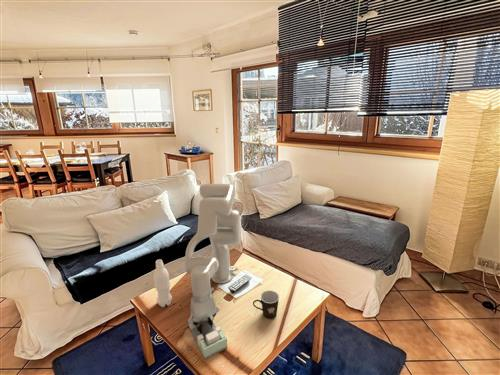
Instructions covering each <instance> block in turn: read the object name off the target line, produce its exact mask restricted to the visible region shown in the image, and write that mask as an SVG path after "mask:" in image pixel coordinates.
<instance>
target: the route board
mask: <svg viewBox="0 0 500 375" xmlns="http://www.w3.org/2000/svg"><path fill="white" fill-rule="evenodd" d="M206 319H207V320H208V318H206ZM193 320H194V319H193ZM187 326H188V328H189V329H191V330H190V332H191V333H192V336H193V338H194V340H195V342H196V344H197V346H198V348H199V350H200V352H201V355H202V357H203V358H204V360H207V359H208V358H210V357H212V356H215V355H216V354H217V353H221V352H222V351H224V350H226V349H228V337H227V336H226V334H225V333H224V331H223V330H222V328H221V327H220V325H218V326H216V325H215V323H214V322H213V325H212V329H213V331H215V330H217V332H218V333H219V336H220V340H219V341H217V342H215V343H213V344H211V345H209V346H207V344H206V337H205V336H204V334H203V332H202V333H201V334H200V332H199V331H198V330H197V326H196V325H193V324H189V323H188V325H187Z"/></svg>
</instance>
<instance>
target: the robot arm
mask: <svg viewBox="0 0 500 375" xmlns="http://www.w3.org/2000/svg"><path fill="white" fill-rule="evenodd" d="M198 190H199V194H200V196H201V198H202V199H201V200H200V201H199V205H198V206H199V208H198V219H197V220H198V222H197V232H196V233H195V235H194V236H193V237H192V238H191V239H190V241H189V242H188V244H187V247H186V250H185V258H184V269H185V272H186V273H187V274H190V281H191V291H192V296H191V299H190V317H188V320H187V323H188V324H193V325H196V326H197V330H198V331H199V332H200V334H201V333H202V327H201V324H200V322H201V320H203V319H205V318H208V322H209V324H210V326H211V327H212V325H213V323H214V319H215V317H216V315H217V314H218V313H220V308H219V307H218V306H216V303H215V298H214V294H213V291H215V289H214V287H211V280H212V281H213V282H214V283H216V284H227V283H229V282H230V281H232V280H233V279H234V272H237V271H238V270H239V268H238V266H236V267H235V266H234V265H233V266H231V261H230V260H231V259H230V257H231V256H230V248H229V245H230V246H231V245H233V246H234V245H239V244H240V243H241V242H242V224H241V222H242V221H241V215H240V212H239V211H238V210H237V209H233V206H234V201H235V197H236V189H235V186H234V185H233V184H230V183H203V184H201V185H200V186H199V189H198ZM207 238H209V240H210V245H211V250H212V251H211V254H212V256H202V255H201V256H198V255H196V256H194V252H195V248H196V246H197V245H198V244H199V243H200V242H202V241H203V240H205V239H207ZM231 279H232V280H231ZM193 319H194V320H193Z"/></svg>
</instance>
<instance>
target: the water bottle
mask: <svg viewBox="0 0 500 375" xmlns="http://www.w3.org/2000/svg"><path fill="white" fill-rule="evenodd" d="M168 271H169V270H167V268H165V266H164V262H163V260H162V259H160V258H159V259H157V260H156V261H155V270H154V273H153V281H154V289H156V291H157V299H156V302H157V304H158V305H159V306H160V307H162V308H165V307H166V306H170V305H171V303H172V299H173V296H172V295H171V292H170V287H171V281H170V275H169V274H170V273H169V272H168Z"/></svg>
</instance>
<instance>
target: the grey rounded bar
mask: <svg viewBox="0 0 500 375" xmlns="http://www.w3.org/2000/svg"><path fill="white" fill-rule="evenodd" d="M200 324H201V327H202V332H203V334H204V336H205V337H206V344H207V346H209V345H211V344H213V343H215V342H217V341H219V340H220V336H219V333H218V332H217V330H215V331H213V329H212V327H211V326H210V324H209V322H208V320H207V319H206V318H205V319H203V320H201V322H200Z"/></svg>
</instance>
